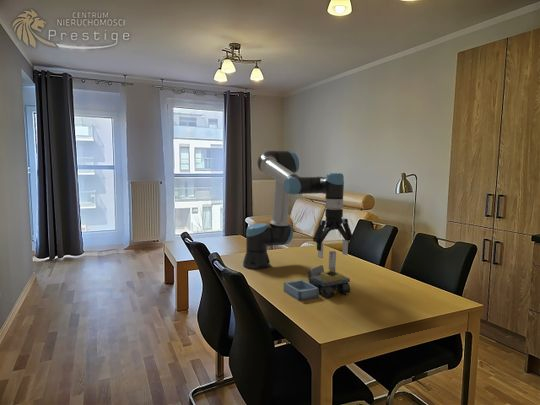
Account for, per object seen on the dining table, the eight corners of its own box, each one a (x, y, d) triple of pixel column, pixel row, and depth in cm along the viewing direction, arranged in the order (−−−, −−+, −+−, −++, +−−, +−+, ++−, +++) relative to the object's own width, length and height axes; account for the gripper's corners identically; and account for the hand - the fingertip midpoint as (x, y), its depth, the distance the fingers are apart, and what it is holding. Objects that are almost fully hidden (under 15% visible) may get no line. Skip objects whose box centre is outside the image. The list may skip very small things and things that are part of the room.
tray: (283, 291, 164) (283, 282, 164) (302, 288, 169) (302, 279, 168) (299, 301, 153) (299, 291, 152) (318, 297, 158) (318, 288, 157)
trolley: (308, 290, 166) (309, 271, 165) (332, 285, 173) (333, 267, 172) (326, 300, 154) (327, 279, 153) (351, 294, 161) (352, 275, 160)
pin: (327, 277, 162) (327, 251, 161) (332, 276, 164) (333, 250, 162) (331, 279, 160) (332, 253, 158) (336, 278, 161) (337, 252, 160)
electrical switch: (315, 289, 168) (314, 269, 167) (306, 287, 171) (305, 268, 171) (326, 284, 175) (325, 265, 174) (318, 282, 178) (317, 264, 178)
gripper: (315, 210, 149) (314, 261, 151) (361, 208, 161) (360, 254, 163) (305, 208, 156) (304, 257, 158) (350, 206, 167) (349, 251, 170)
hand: (332, 256), depth 160 cm, fingers open, 13 cm apart
